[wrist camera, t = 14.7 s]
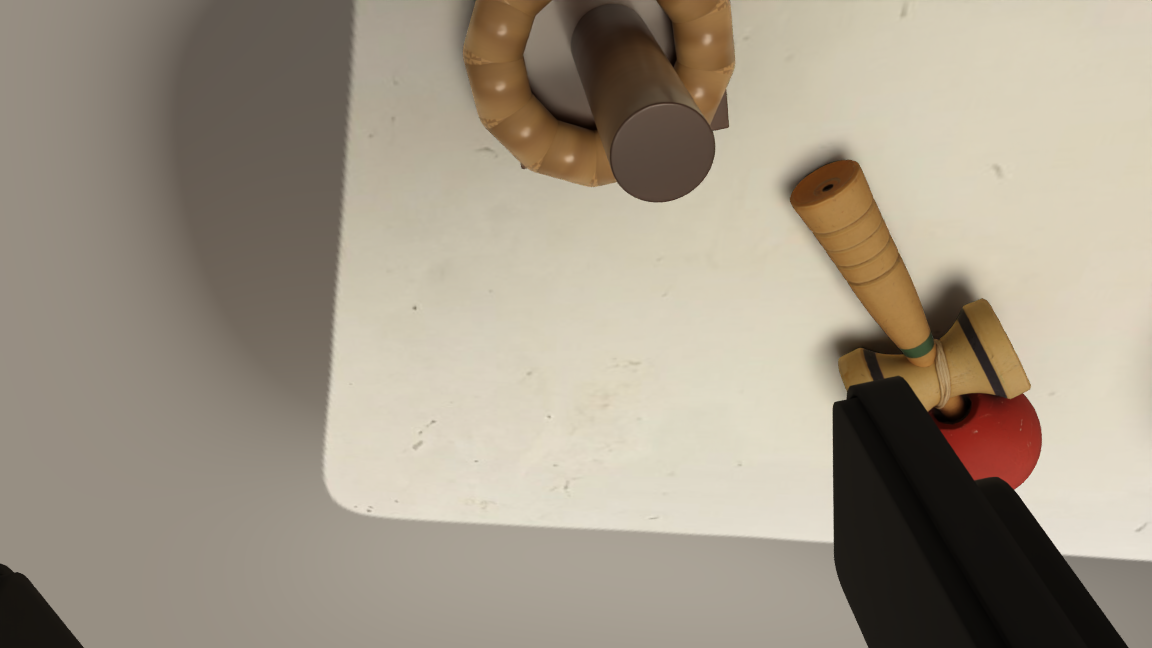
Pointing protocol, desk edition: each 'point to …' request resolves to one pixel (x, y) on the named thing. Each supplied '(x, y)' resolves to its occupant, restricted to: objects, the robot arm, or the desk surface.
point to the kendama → (924, 334)
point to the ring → (563, 147)
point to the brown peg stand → (623, 91)
